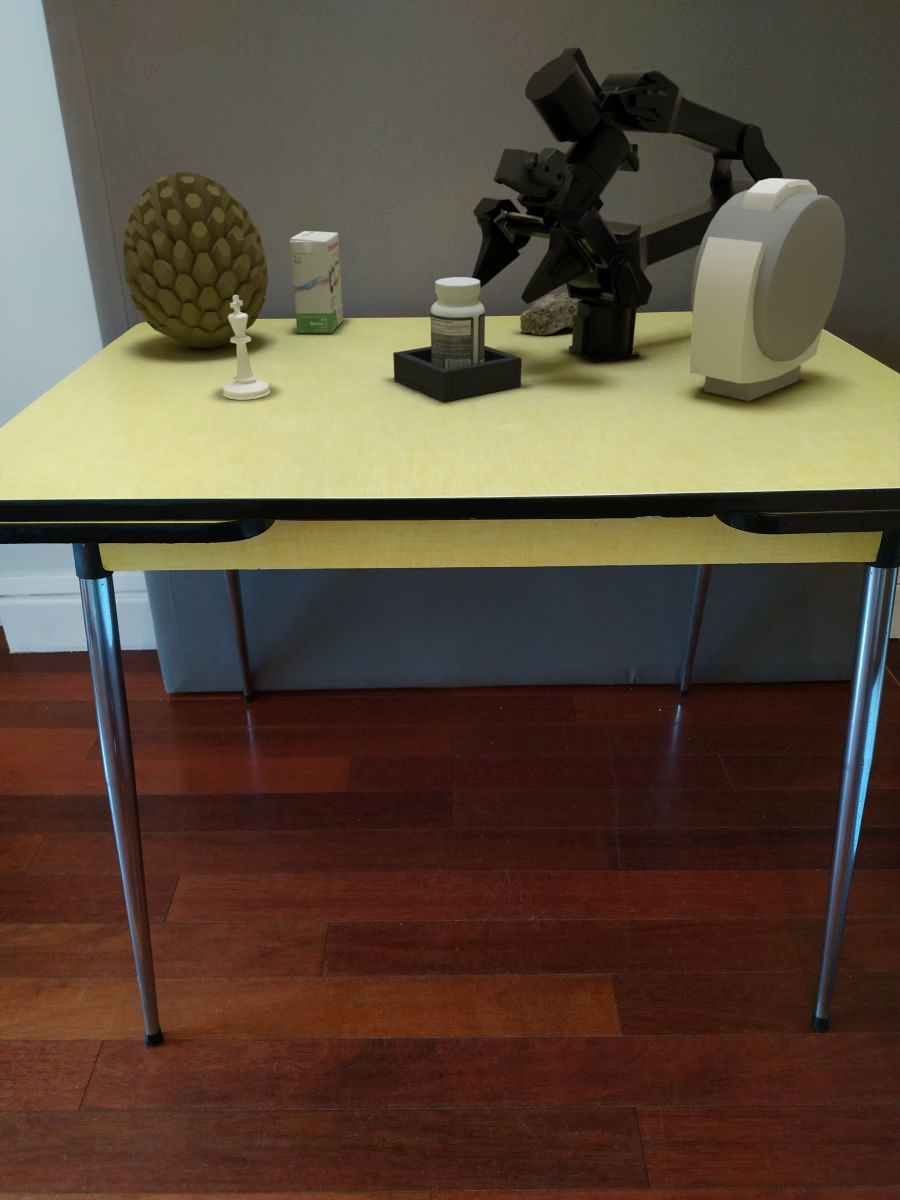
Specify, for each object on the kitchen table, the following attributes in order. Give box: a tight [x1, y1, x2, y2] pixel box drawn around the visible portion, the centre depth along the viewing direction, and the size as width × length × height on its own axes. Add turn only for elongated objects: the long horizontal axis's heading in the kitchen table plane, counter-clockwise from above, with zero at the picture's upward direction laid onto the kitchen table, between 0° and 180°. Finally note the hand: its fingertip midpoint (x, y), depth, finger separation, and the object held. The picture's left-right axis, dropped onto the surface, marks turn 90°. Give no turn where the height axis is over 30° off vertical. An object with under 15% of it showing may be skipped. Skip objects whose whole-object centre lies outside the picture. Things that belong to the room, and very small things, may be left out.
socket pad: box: [392, 345, 523, 403], centre depth 99 cm, size 10×10×3 cm
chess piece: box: [222, 295, 271, 401], centre depth 94 cm, size 5×5×10 cm
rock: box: [519, 291, 581, 336], centre depth 120 cm, size 7×8×4 cm
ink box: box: [289, 230, 344, 334], centre depth 121 cm, size 8×5×12 cm, turn 175°
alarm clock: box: [689, 178, 846, 402], centre depth 93 cm, size 18×8×20 cm, turn 135°
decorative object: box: [122, 170, 269, 350], centre depth 110 cm, size 17×17×20 cm
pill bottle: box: [429, 276, 486, 369], centre depth 97 cm, size 6×6×10 cm
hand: (497, 294), depth 98 cm, fingers open, 9 cm apart
